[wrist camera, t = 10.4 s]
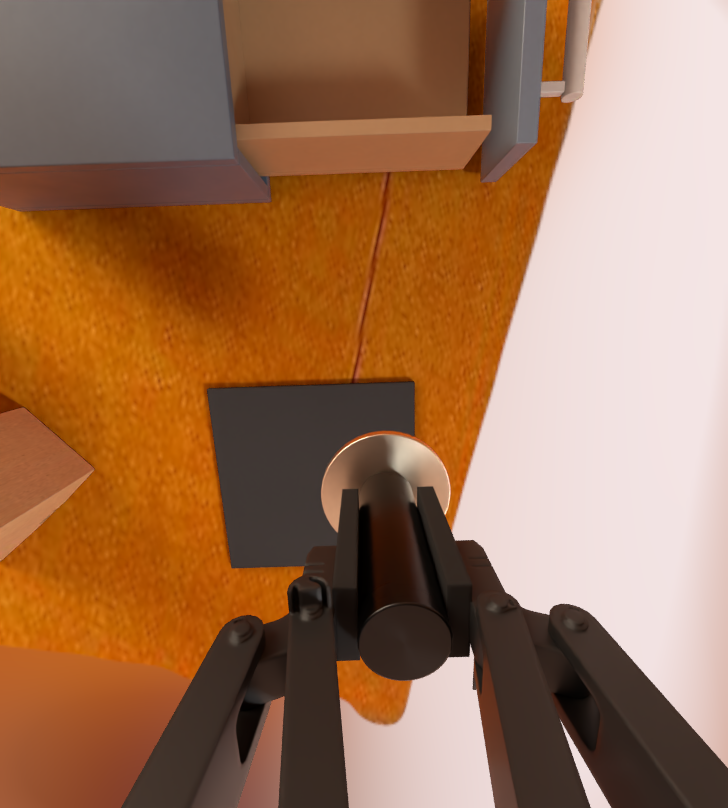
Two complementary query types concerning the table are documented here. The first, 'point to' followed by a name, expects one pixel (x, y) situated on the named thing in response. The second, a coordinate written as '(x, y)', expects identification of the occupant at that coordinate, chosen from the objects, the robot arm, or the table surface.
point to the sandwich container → (33, 476)
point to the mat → (291, 459)
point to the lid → (393, 551)
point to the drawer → (390, 83)
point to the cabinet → (118, 106)
